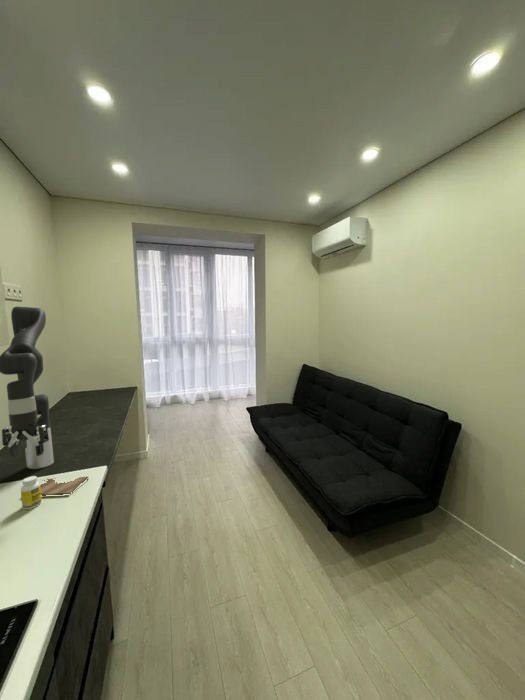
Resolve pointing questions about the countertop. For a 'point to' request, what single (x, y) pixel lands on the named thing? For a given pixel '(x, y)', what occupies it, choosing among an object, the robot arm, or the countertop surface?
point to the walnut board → (60, 487)
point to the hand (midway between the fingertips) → (27, 455)
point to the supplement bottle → (30, 493)
